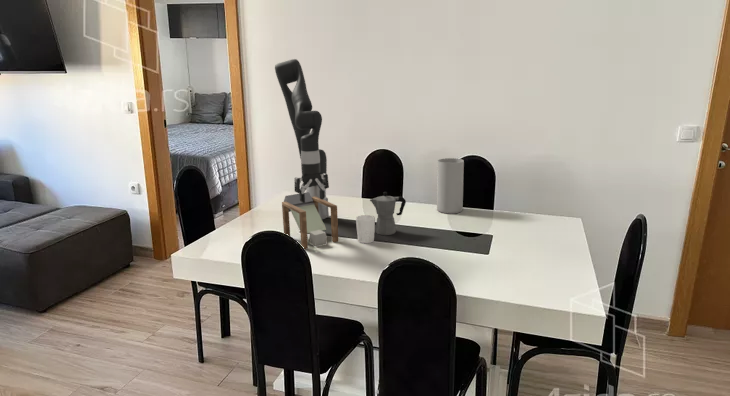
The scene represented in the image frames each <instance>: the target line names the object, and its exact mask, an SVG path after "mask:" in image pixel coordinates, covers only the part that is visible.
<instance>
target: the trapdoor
mask: <svg viewBox="0 0 730 396" xmlns="http://www.w3.org/2000/svg"><path fill="white" fill-rule="evenodd" d="M304 194H305V203H302V202H301V201H300V194H299V193H296V194H290V195H284V199H283V202H288V203H290V204H292V205H294V206H296V207H298V208H300V209H302V210H304V211H306V221H307V235H310V234H309V232H311V231H316V230H322V231H324V232H326V231H327V228H326V225H325V223H324V222H323V219H321V217H320V215H319V213H318V211H317V209H316V207H315V204H314V203H313V199H312V197H311V195H310V193H309V192H306V191H305V192H304ZM289 213H291V215H292V217H293V218H294V221H295V223H296V225H297V227H298V230H299V231H300V217H299V213H297V212H295V211H293V210H291V209H290V208H289Z"/></svg>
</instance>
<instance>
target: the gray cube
mask: <svg viewBox="0 0 730 396" xmlns="http://www.w3.org/2000/svg"><path fill="white" fill-rule="evenodd" d="M308 235H309V244H310V245H312V246H314V247H315V248H316V247H320V246H324V245H327V232H326V231H322V230H316V231H311V232H309V234H308Z"/></svg>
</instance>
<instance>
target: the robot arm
mask: <svg viewBox="0 0 730 396" xmlns="http://www.w3.org/2000/svg"><path fill="white" fill-rule="evenodd" d="M274 70H275V72H274V73H275V75H276V79H277V81H278V84H279V86H280V90H281V93H282V94H283V98H284V101H285V105H286V108H287V111H288V115H289V119H290V122H291V126H292V128H293V131H294V136H295V139H296V142H297V148H298V152H299V158H300V163H301V164H300V165H301V177H294V192H295V193H296V194H300V201H301V202H302V203H305V194H304V193H306V192H309V193H310V195H311V197H315V196H316V197H318V198H320V199H323V200H325V201H327V202H329V198H328V197H327V189H329V188H330V185H329V184H330V183H329V176H328V174H327V171H328V170H327V169H328V167H327V166H328V165H327V163H328V162H327V161H328V160H327V159H328V158H327V153H326V152H325V150H323V149H320V147H319V139H320V131H321V127H322V124H323V116H322V114H321V113H320V112H319V111H318V110H313V104H312V101H311V99H310V96H309V93H308V90H307V84H306V79H305V76H304V71H303V68H302V65H301V63H300V61H299V60H298V59H297V58H294V59H293V58H292V59H289V60H284V61H282V62H277V63H276V64H275V65H274ZM292 83H295V85H294V87H293V90H291V89H290V88H289V86H288V85H289V84H292ZM301 183H302V184H301ZM318 209H319V215H320V217H321V219H322V220H325V219H327V218H330V217H329V216H330V215H329V207H328V206H325V205H323V204H321V203H319V202H318Z"/></svg>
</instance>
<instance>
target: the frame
mask: <svg viewBox="0 0 730 396" xmlns="http://www.w3.org/2000/svg"><path fill="white" fill-rule="evenodd" d="M312 199H313V203H314V204H315V207H316V209H317V211H318V213H319V209H318V202H319V203H321V204H323V205H325V206H328V208H330V227H331V229H330V230H331V242H332V243H333V244H335V243H338V242H339V221H338V220H339V219H338V217H339V216H338V205H336V204H334V203H332V202H330V201H328V202H327V201H325V200H323V199H320V198H318V197H316V196H315V197H312ZM281 207H282V208H281V209H282V210H281V211H282V225H283V234H284V233H285V234H288V235H289V236H290V237H291V228H290V212H289V208H290V209H291V210H293V211H295V212H297V213H299V217H300V230H299V231H300V232H299V233H300V246H301V245H302V246H303V247H304V250H308V249H309V242H308V241H309V240H308V239H309V238H308V234H307V221H306V211H304V210H302V209H300V208H298V207H296V206H294V205H292V204H290V203H288V202H284V201H282V202H281Z"/></svg>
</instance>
